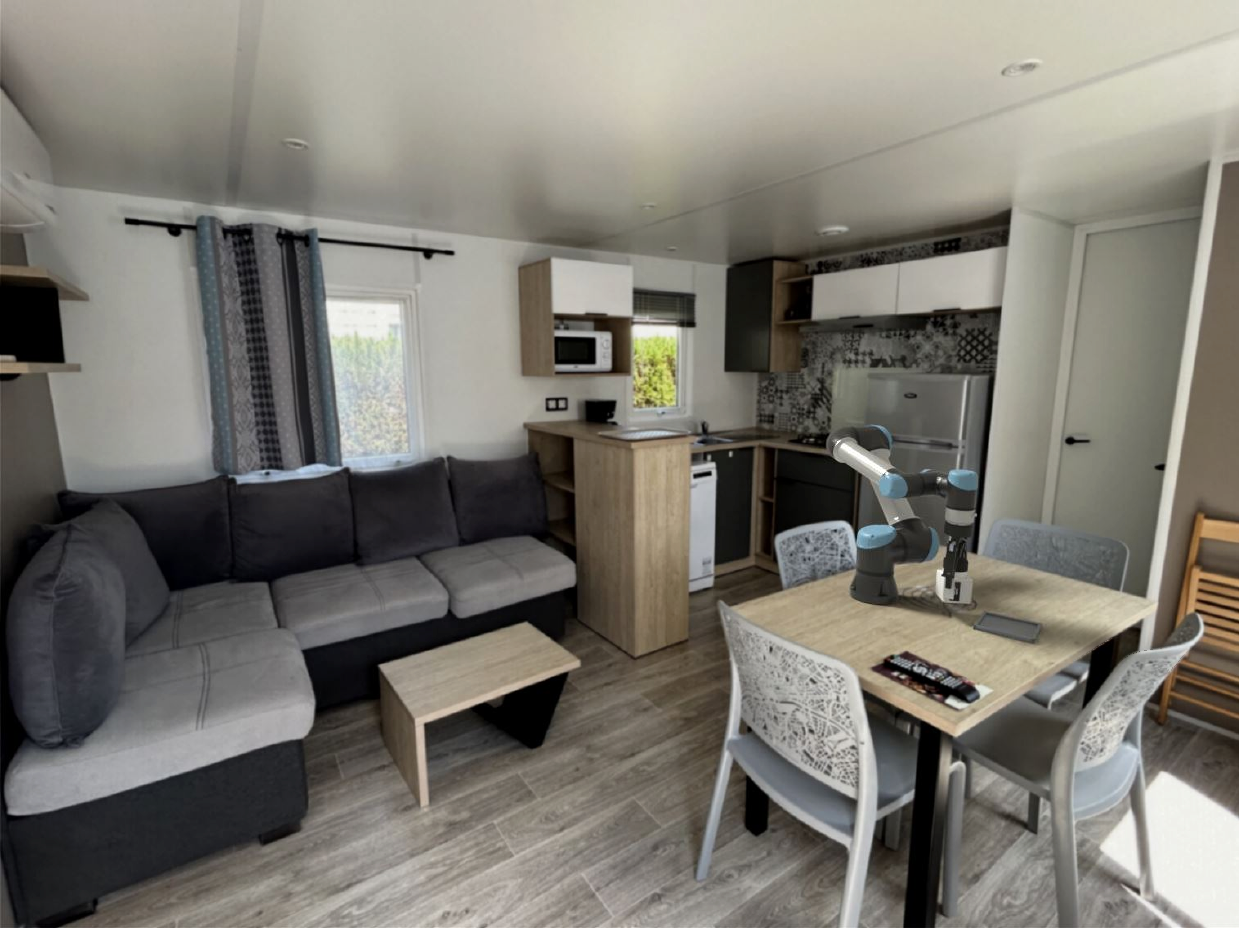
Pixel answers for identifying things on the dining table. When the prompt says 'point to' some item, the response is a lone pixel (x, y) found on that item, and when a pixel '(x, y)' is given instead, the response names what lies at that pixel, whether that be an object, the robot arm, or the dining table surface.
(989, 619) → the tray
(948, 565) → the robot arm
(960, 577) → the container
